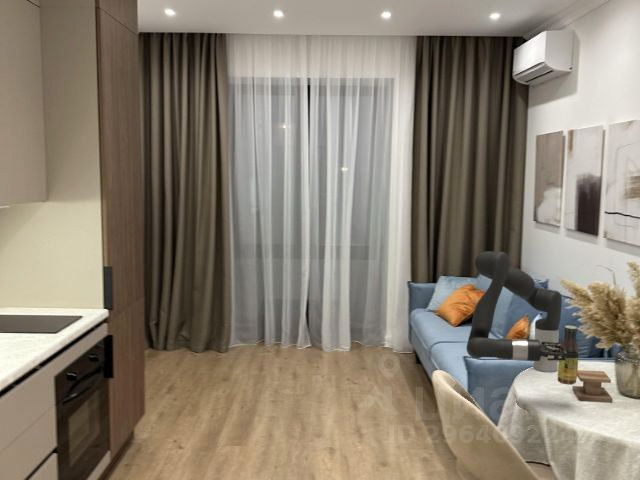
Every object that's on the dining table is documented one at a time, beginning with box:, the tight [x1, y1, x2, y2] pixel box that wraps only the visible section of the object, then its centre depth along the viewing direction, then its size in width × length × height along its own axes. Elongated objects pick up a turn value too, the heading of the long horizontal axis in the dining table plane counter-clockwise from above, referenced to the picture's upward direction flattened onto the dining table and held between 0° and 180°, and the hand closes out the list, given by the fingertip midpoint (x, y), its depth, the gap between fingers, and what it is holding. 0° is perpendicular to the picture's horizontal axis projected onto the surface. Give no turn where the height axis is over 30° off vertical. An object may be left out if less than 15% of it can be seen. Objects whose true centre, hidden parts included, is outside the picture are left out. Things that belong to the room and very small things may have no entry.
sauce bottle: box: [557, 325, 580, 386], centre depth 208 cm, size 7×6×20 cm
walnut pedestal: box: [571, 369, 613, 404], centre depth 218 cm, size 11×11×8 cm
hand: (575, 351), depth 207 cm, fingers closed on sauce bottle, 6 cm apart
